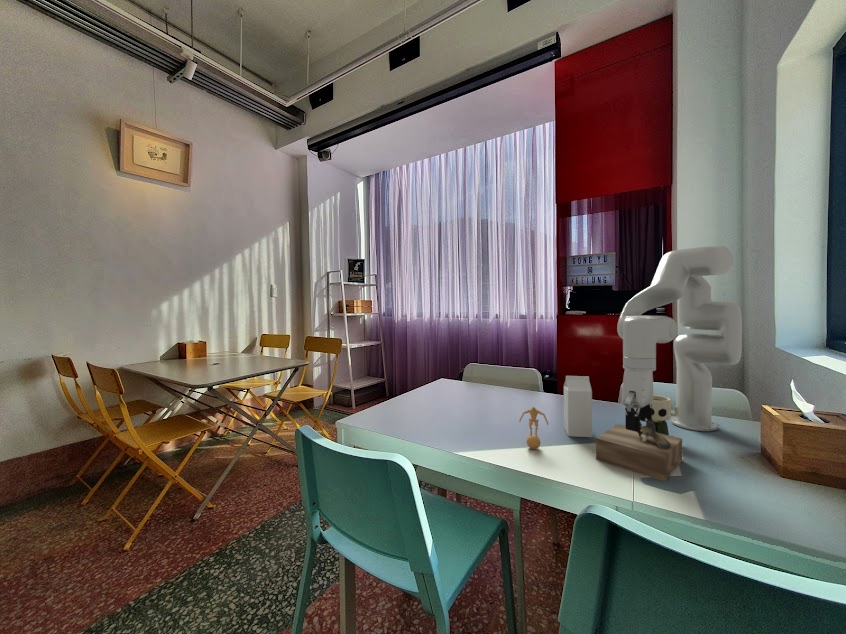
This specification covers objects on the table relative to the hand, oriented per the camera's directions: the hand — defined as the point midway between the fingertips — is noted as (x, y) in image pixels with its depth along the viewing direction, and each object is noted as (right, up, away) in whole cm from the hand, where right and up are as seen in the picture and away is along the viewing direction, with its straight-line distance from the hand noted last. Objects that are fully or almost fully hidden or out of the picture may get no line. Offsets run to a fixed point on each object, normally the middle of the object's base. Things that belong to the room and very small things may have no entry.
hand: (638, 425), depth 93 cm
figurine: (-25, -10, +10) cm, 29 cm away
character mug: (+15, -9, +14) cm, 22 cm away
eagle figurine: (+1, -4, -3) cm, 5 cm away
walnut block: (0, -10, 0) cm, 10 cm away
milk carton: (-8, -9, +20) cm, 23 cm away
